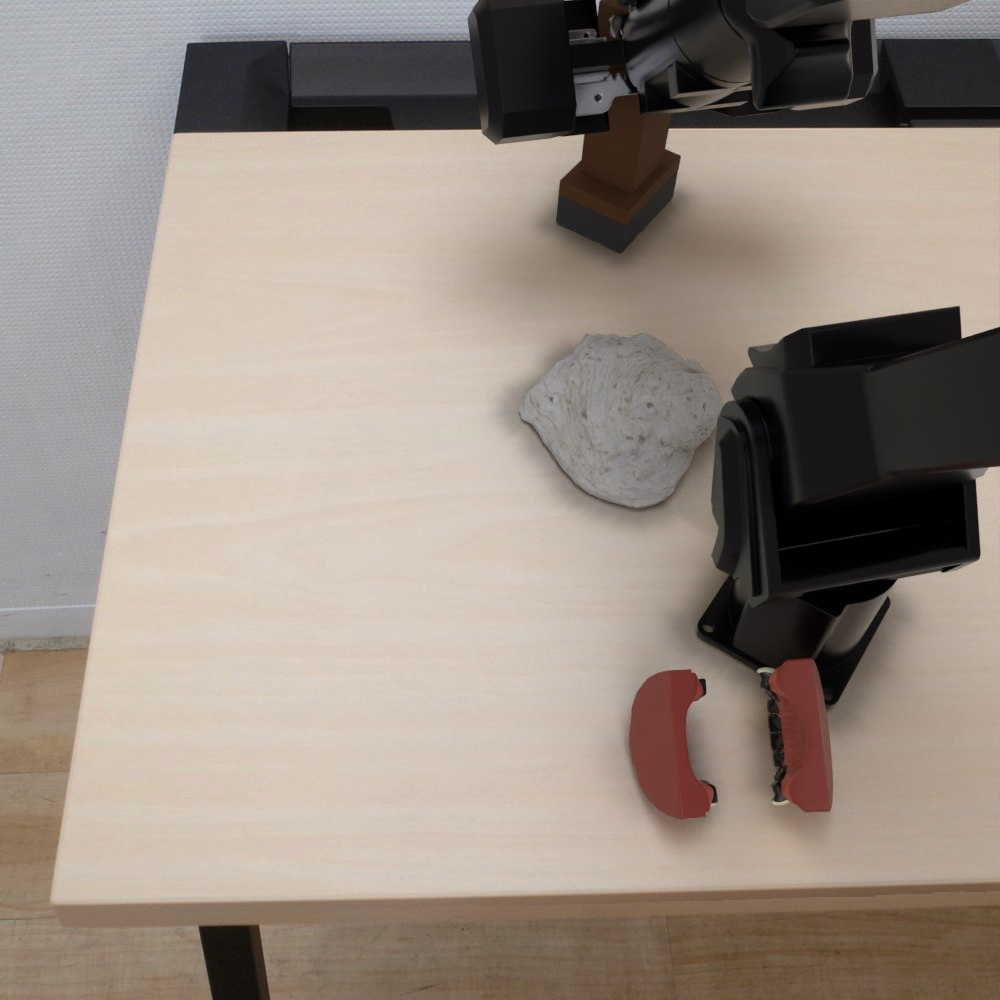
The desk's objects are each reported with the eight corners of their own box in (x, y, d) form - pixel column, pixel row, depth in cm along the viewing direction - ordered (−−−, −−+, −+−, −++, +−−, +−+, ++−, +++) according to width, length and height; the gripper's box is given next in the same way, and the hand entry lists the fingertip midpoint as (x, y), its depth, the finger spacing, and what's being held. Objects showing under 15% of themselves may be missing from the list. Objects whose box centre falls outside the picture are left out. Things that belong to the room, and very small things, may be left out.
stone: (528, 302, 55) (729, 298, 53) (544, 368, 59) (732, 368, 56) (487, 447, 49) (710, 452, 47) (507, 511, 53) (716, 519, 50)
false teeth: (632, 811, 44) (830, 795, 44) (646, 826, 40) (865, 810, 40) (620, 670, 45) (814, 655, 45) (632, 671, 40) (847, 655, 41)
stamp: (621, 254, 61) (655, 41, 51) (555, 222, 63) (575, 9, 52) (673, 197, 64) (716, -14, 54) (609, 169, 66) (638, -44, 55)
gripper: (939, -229, 43) (774, -87, 58) (479, -199, 40) (430, -58, 56) (955, 65, 45) (791, 129, 60) (518, 113, 42) (461, 167, 58)
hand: (623, 88), depth 58 cm, fingers closed on stamp, 5 cm apart
